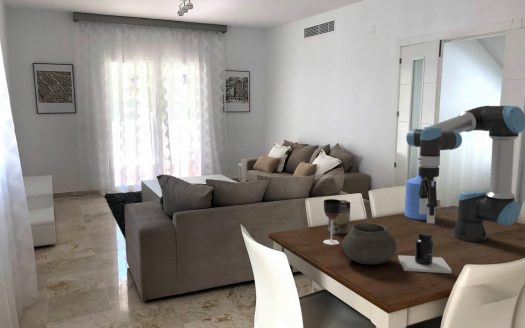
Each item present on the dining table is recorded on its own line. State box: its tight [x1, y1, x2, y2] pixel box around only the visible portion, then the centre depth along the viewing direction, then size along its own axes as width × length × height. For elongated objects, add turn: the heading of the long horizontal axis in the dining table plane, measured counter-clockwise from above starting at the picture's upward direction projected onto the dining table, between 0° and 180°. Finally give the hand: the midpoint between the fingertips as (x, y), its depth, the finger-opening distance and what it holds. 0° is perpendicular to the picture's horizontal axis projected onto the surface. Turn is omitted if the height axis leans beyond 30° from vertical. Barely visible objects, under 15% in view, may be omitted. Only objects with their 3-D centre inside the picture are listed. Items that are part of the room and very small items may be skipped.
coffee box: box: [327, 199, 351, 235], centre depth 218 cm, size 9×6×16 cm
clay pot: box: [341, 222, 397, 265], centre depth 177 cm, size 22×21×15 cm
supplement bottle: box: [414, 231, 435, 265], centre depth 173 cm, size 7×7×12 cm
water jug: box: [403, 168, 428, 221], centre depth 246 cm, size 16×16×28 cm
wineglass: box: [323, 198, 341, 246], centre depth 201 cm, size 8×9×20 cm
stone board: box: [397, 254, 453, 274], centre depth 174 cm, size 18×14×1 cm
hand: (426, 218), depth 171 cm, fingers open, 13 cm apart
